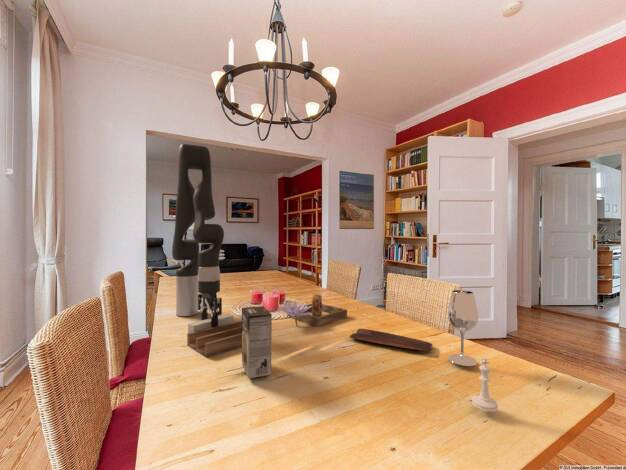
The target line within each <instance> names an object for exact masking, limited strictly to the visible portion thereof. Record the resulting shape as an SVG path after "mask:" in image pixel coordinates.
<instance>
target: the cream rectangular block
mask: <svg viewBox="0 0 626 470" xmlns="http://www.w3.org/2000/svg"><path fill="white" fill-rule="evenodd" d="M233 322H234V315H233V314H229V313H226V314H221V315H219V316H218V326H220V325H224V324H229V323H233ZM208 328H212V327H211V318H208V319H206V320H202V321H201V320H199V321H194V322H190V323H188V324H187V333H191V332H195V331H200V330H204V329H208Z"/></svg>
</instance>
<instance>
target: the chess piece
mask: <svg viewBox="0 0 626 470" xmlns="http://www.w3.org/2000/svg"><path fill="white" fill-rule="evenodd" d="M479 362H480V364H481V365H480V366H478V367H479V370H480V374H481V375H479V378H478V379H479V380H480V381H481V389H480V394H478V395H474V396H472V398H471V403H472V405H473V406H474V407H476V408H478V409H479V410H482V411H485V412H495V411H498V409H499V405H498V403H497V401H496V400H494V399H493V398H491V397H490V393H489V386H488V383H489V382H491V381H492V380H491V378H490V377H488V376H489V374H490V372H491V368H490V367H489V366H487V365H489V364H490V361H489V360H487V358H486V357H484V358H483V360H481V361H479Z"/></svg>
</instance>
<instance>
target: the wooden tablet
mask: <svg viewBox="0 0 626 470" xmlns="http://www.w3.org/2000/svg"><path fill="white" fill-rule="evenodd" d="M349 338H350V339H354V340H358V341H363V342H368V343H375V344H379V345H380V344H381V345H385V346H389V347H390V346H391V347H396V348H403V349H408V350H416V351H426V352H427V351H430V350H432V348H433V343H432V342H429V341H425V340H423V339H422V340H421V339H417V338H412V337H408V336H404V335H400V334H399V335H398V334H394V333H390V332H383V331H378V330H373V329H366V328H358V329H357V330H356V332H353V333H351V334H350V335H349Z"/></svg>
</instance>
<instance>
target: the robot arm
mask: <svg viewBox="0 0 626 470" xmlns="http://www.w3.org/2000/svg"><path fill="white" fill-rule="evenodd" d="M189 170H198V171H201V178H200V181H199V183H198V184H197V186H196V188H195V187H194V186H193V184H192V182H191V180H190V177H189ZM177 171H178V172H177V191H176V192H177V193H176V201H175V220H174V221H175V224H174V233H173V239H172V240H173V241H172V248H171V252H172V253H171V254H172V255H171V256H172V259H173V260H175V261H189V263H188V264H186V265H184V266H181V267H179V268H177V269H176V271H175V295H176V296H175V297H176V298H175V301H176V302H175V312H176V313H175V315H176V316H178V317H190V316H195V315H198V314H199V312H200V316H201V317H200V321H202V320H206V319H209V316H208V314H209V313H210V316H211V327H217V326H218V316H221V315H223V314H222V313H223V309H222V308H223V307H222V305H223V301H222V300H223V299H222V297H218V295H217V293H220V292H221V270H220V252H221V249H222V246H223V242H224V237H225V232H224V228H223V227H222V226H221V224H217V223H205V221H209V220H212V219H214V218H215V216H216V209H215V204H214V199H213V198H214V197H213V190H212V187H213V186H212V185H213V184H212V159H211V154H210V150H209V148H208V147H206V146H204V145H199V144H198V145H197V144H190V143H181V144H180V145H179V148H178V154H177ZM192 225H193V232H192V237H193V238H191V239H184V236H185V234H186V233H187V232H188V230H189V229H190V228H191V226H192ZM200 244H210V245H209V247H208V248H207V249H204V250H201V251H200ZM208 312H209V313H208Z"/></svg>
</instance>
